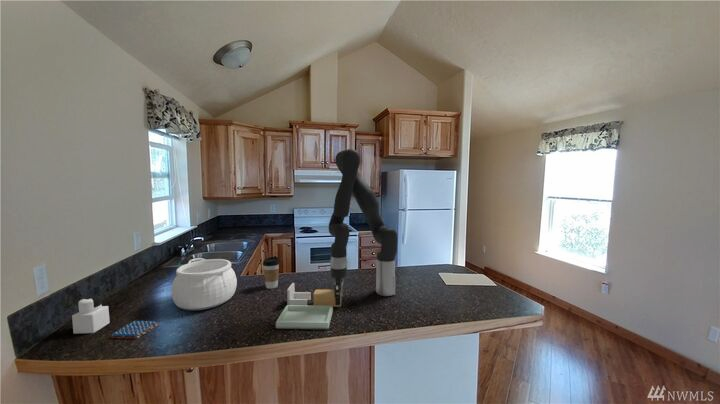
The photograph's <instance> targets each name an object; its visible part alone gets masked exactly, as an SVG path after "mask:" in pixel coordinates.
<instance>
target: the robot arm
mask: <svg viewBox="0 0 720 404" xmlns="http://www.w3.org/2000/svg"><path fill="white" fill-rule="evenodd" d="M334 161H335V165H336V167H337V168H338V170H339V172H340V173H341V175H342V176H341V181H340V184H339V186H338V189H337V192H336V194H335V197H334V203H333V212H332V213H331V217H330V219H329V223H328V232H329V235H331V236H332V237H334V241H333V242H332V243H331V245H330V260H329V261H330V265H329V267H330V268H329V269H330V277H331V278H334V281H333V290H334V297H335V305H340V304H341V305H342V299H343V297H342V298H341V293H343V288H344V278H346V277H347V276H348V257H347V254H348V253H347V247H348V246H347V245H348V242H349V237H350V228H349V226H348V224H346V223H344V221H345V218H347V217H348V216H349V214H350V209H351V199H352V196H353V197H354V199H355V202H357V205H358V207H359V209H360V211H361V212H362V214H363V216H364V218H365V220H366V221H367V224H368V226H369V229H370V232H371V234H372V236H373V239H374V241H375V242H376V243H377V244H378V245H381V246H380V251H379V252H377V253H376V273H375V274H376V275H375V276H376V280H375V281H376V284H375V285H376V287H375V288H376V294H377V295H378V296H383V297H390V296H396V255H397V252H398V241H399V240H398V239H399V238H398V233H397V231H396V230H395V229H394V228H391V227H388V226H386V225H385V223H384V222H383V220H382V218H381V214H380V205H379V200H378V198H377V196H376V194H375V192H374V190H373V189H372V187H371V186H370V185H369V184H368V182H366V180H365V179H363V177H362V176H361V175H360V173H359V168H360V164H361V155H360V153H359V152H358V151H357V150H356V149H355V148H354V149H353V148H351V149H350V148H349V149H345V150H340V151H339V152H337V153H336V155H335V159H334ZM336 293H339V294H336Z"/></svg>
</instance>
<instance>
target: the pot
mask: <svg viewBox="0 0 720 404" xmlns="http://www.w3.org/2000/svg"><path fill="white" fill-rule="evenodd" d="M237 285H238V280H237V276H236V273H235V271H234V269H233V268H232V262H231V261H230V260H227V259H223V258H211V259H205V258H202V257H195V258H193V259H190V260H189V261H188V262H187V263H185V264H183V265H180V266H179V267H178V268H177V269H176V271H175V278H174V279H173V283H172V284H171V291H170V292H171V298H172V301H173V303H174V304H175V305H176V306H177V307H178V308H180V309H181V310H184V311H185V310H186V311H203V310H207V309H211V308H212V309H213V308H215V307H218V306H221V305H222V304H224V303H226V302H228V301H230V299H231V298H232V297H233V296H234V295H235V292H236V289H237Z"/></svg>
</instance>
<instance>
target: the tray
mask: <svg viewBox="0 0 720 404" xmlns="http://www.w3.org/2000/svg"><path fill="white" fill-rule="evenodd" d="M333 312H334V307H333V306H321V305H314V304H312V305H311V304H309V305H308V304H307V305H288V304H287V305H286V306H285V307H284V308H283V310H282V312H281V313H280V315H279V316H278V318H277V320H276V321H275V329H281V330H282V329H284V330H285V329H289V330H290V329H291V330H292V329H294V330H296V329H297V330H299V329H300V330H329V328H330V324H331V319H332V316H333Z"/></svg>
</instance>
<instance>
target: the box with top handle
mask: <svg viewBox="0 0 720 404" xmlns="http://www.w3.org/2000/svg"><path fill="white" fill-rule="evenodd" d="M336 294H339V293H336ZM341 298H342V299H343V292H342V293H341ZM313 305H321V306H333V308H335V307H336V308H339V307H342V306H341V305H342V303H341V304H340V305H335V297H334V289H315V290H314V292H313Z"/></svg>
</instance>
